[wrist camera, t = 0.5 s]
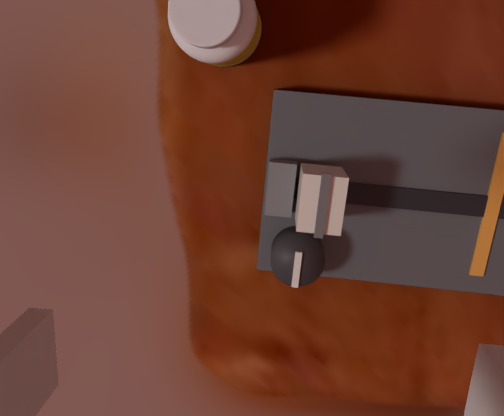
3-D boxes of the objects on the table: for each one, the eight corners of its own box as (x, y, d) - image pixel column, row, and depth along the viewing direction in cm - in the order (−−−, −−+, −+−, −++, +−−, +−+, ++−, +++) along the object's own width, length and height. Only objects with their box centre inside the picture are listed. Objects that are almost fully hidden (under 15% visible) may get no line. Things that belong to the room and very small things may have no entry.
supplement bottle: (276, 17, 34) (274, -6, 24) (236, 81, 35) (218, 82, 26) (215, -28, 33) (188, -69, 24) (176, 39, 35) (136, 24, 25)
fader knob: (301, 160, 34) (303, 171, 30) (342, 164, 34) (350, 176, 30) (294, 217, 35) (295, 235, 31) (334, 221, 35) (340, 240, 31)
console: (274, 89, 35) (273, 90, 31) (597, 118, 34) (644, 124, 30) (257, 259, 39) (254, 283, 34) (548, 290, 38) (582, 318, 34)
